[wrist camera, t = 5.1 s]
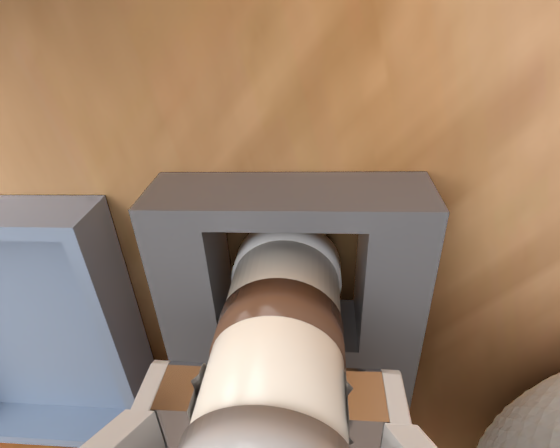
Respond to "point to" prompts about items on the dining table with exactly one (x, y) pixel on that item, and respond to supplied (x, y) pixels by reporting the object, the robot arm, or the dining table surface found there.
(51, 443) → the parts tray
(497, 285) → the dining table surface
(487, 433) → the cereal bowl
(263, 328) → the fuse
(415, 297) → the block
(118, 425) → the robot arm
